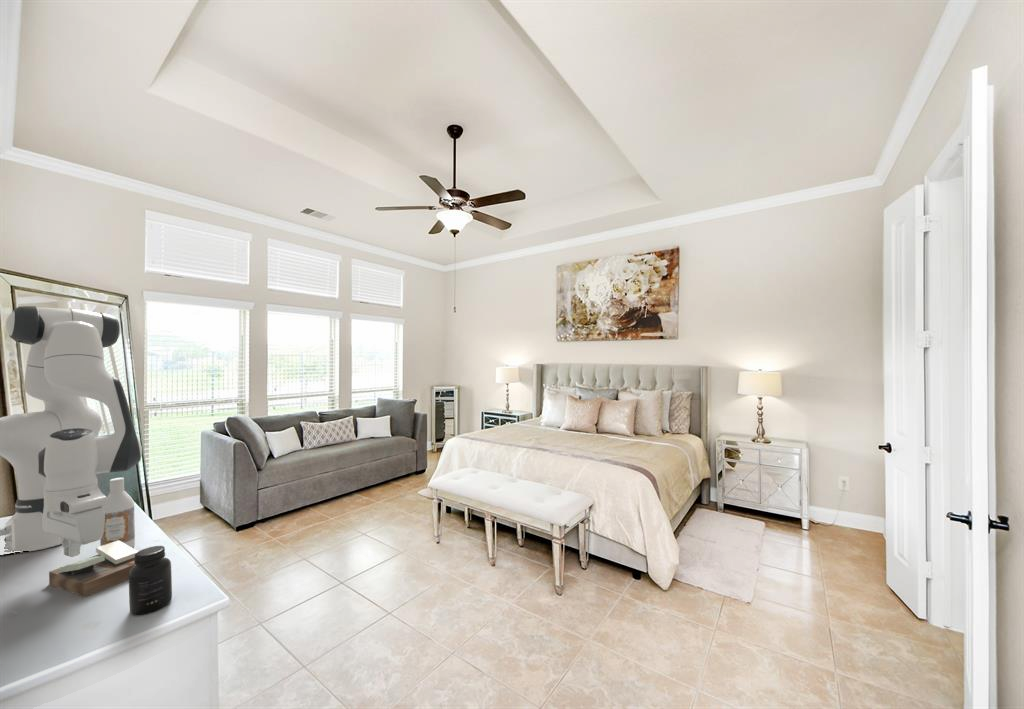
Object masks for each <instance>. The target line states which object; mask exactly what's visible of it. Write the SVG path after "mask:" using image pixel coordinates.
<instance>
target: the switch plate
mask: <svg viewBox="0 0 1024 709" xmlns="http://www.w3.org/2000/svg"><path fill="white" fill-rule="evenodd" d="M97 556H101V555H100V554H97V555H93V556H90V557H89V558H92V557H97ZM104 559H105V560H104V561H102V562H99V563H96V564H93V565H90V566H88V567H85V568H82V569H79V570H73V571H67V572H61V573H60V567H58V568H56V569H53V570H50V571H48V576H49V579H48V581H49V582H48V583H49V585H51V586H53V587H56V588H59V589H60V590H64V591H66V592H69V593H72V592H73V593H72V594H75V595H77V594H78V596H80V597H84V598H86V596H87V597H89V596H91V594H92V595H94V594H96V593H98V592H102V591H104V590H106V589H109V588H111V587H114V586H116V585H118V584H120V583H123V582H125V581H127V580H128V581H129V572H130V570H131V569H132V568H133V567H134V566H135V564H134V561H135V557H134V558H132V559H129V560H126V561H124V562H121V563H118V564H114V563H113V562H111V561H109V560H108V559H106V558H104Z"/></svg>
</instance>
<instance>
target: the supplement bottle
mask: <svg viewBox="0 0 1024 709" xmlns="http://www.w3.org/2000/svg"><path fill="white" fill-rule="evenodd" d="M165 550H166V549H165V546H164V545H154V546H150V547H146V548H143V549H140V550H137V551H138V552H137V553H136V554H135V561H134V564H135V566H134V567H133V568H132V569H131V570H130V572H129V579H128V597H129V599H128V600H129V601H128V603H129V604H128V605H129V613H130V614H131V615H132V616H138V617H140V616H145V615H149V614H152V613H154V612H157V611H159V610H161V609H163V608H165V607H166V606H167V605H169V604H170V602H171V601H172V599H173V585H172V584H173V583H172V581H173V580H172V579H173V578H172V561H171V560H170V558H168V557H166V552H165Z"/></svg>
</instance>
